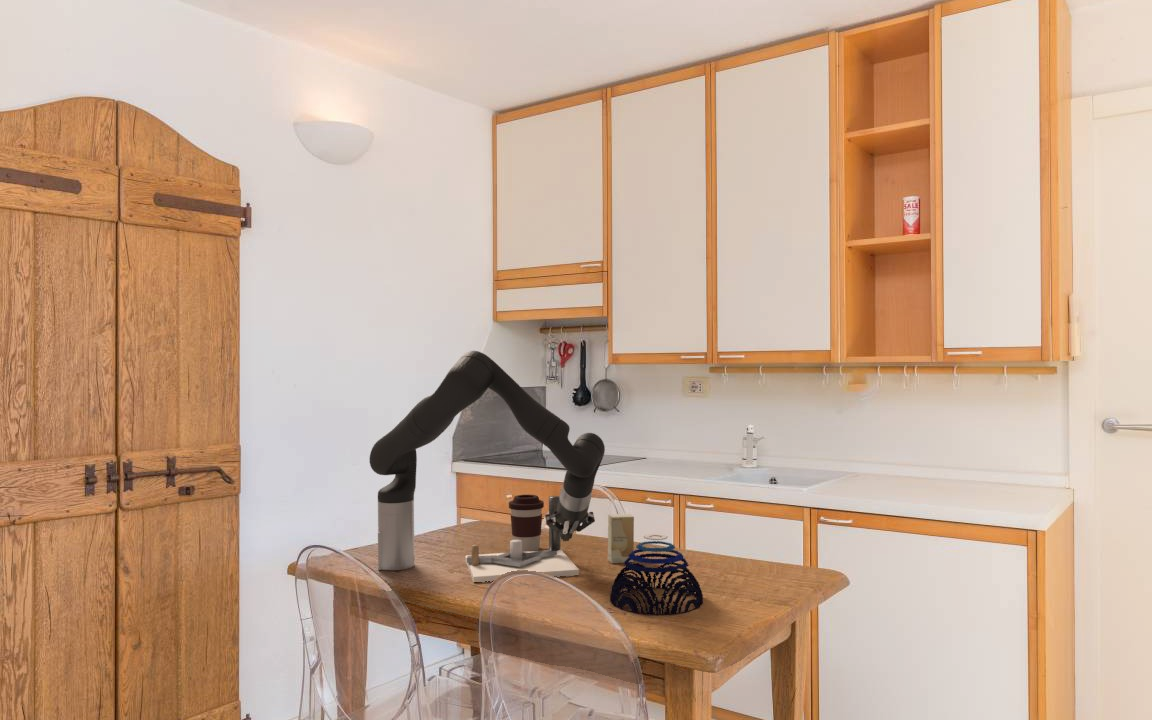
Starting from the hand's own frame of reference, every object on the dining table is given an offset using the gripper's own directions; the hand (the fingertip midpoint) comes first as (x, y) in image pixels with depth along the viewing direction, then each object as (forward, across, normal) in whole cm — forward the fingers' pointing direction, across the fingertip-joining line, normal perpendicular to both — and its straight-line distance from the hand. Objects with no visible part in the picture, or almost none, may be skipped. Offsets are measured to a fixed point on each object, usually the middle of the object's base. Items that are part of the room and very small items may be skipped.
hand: (565, 538), depth 205 cm
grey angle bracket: (+9, -12, +1) cm, 15 cm away
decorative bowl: (-17, +14, -29) cm, 36 cm away
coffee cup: (+22, -6, +11) cm, 26 cm away
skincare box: (+8, +16, -3) cm, 18 cm away
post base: (+8, -12, -3) cm, 15 cm away
